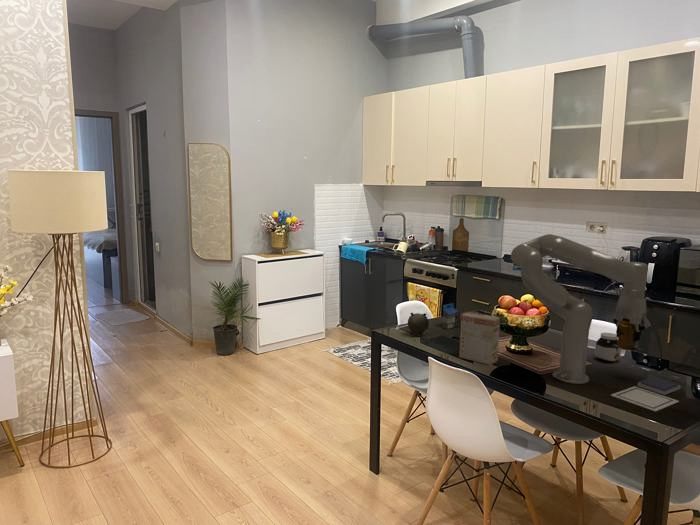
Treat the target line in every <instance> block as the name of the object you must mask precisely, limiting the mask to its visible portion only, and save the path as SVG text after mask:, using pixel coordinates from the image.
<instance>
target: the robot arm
mask: <svg viewBox="0 0 700 525" xmlns="http://www.w3.org/2000/svg"><path fill="white" fill-rule="evenodd" d="M545 257H551V258H553V259H555V260H557V261H560V262H563V263H565V264H569V265H571V266H572V267H576V268H579V269H581V270H584V271H587V272H591V273H595V274H598V275H602V276H604V277H606V278H608V279H610V280H613V281H617V282H618V283H622V284H623V287H622V288H620V289H619V292H620V293H621V295H619V297H618V301H617V304H616V307H615V311H614V312H613V313H612V314H611V315H610V318H611V320H613V322H614V324H615V327H616V333H615V334H616V336H617V337H618V335H619V327H620V323H621V321H622V319H623V318H626V319H629V320H630V322H629V323H631V324H634V325H635V328H636V331H635V332H634V338H633V341H634V342H635V343H636V342H639V341H640V340H641V338H642V337H641V335H642V334H641V333H642V332H643V331H644V330H646V329H648V328H649V327H650V326H651V325H652V324H651V322H650V320H649V319H648V318H647V302H646V298H645V295H646V287H647V279H648V271H649V266H648V264H647V263H646V262H639V261H628V262H627V261H624V260H621V259H620V258H619V259H618V258H615V257H614V256H610V255H608V254H606V253H604V252H601V251H598V250H597V249H593V248H591V247H588V246H586V245H584V244H581V243H578V242H577V241H573V240H572V239H568V238H566V237H563V236H560V235H556V234H552V233H551V234H550V233H548V234H544V235H541V236H538V237H535V238H533V239H531V240H528V241H526V242H523V243H521V244H518V245H517V246H514V248H513V249H512V251H511V253H510V259H511V261H512V262H513V264H514V265H515V266H517V267H519V268H520V276H521V280H522V283H523V285H524V286H525V288H526V289H527V290H529V291H530V292H532V293H533V295H534V296H535V298H536V299H537V301H539V302H540V303H541V304H542V305H544V306H545V307H546V308H548V309H549V310H550V311H552V312H553V313H554V314H556V315H557V316H559V317H561V318H562V319H563V320H565V323H564V325H563V328H562V332H561V341H560V342H561V344H560V353H559V354H560V356H559V367H558V368H557V370H556V371H554V372H552V377H554V378H556V379H557V381H558V380H559V381H561V382H564V383H567V384H568V383H569V384H575V385H582V384H583V385H584V384H588V383H589V381H590V376H588V375H586V367H587V359H588V358H587V356H588V347H589V335H590V329H591V324H592V321H593V318H594V311H593V308H592V306H590V304H589V303H587V302H586V301H584V300H581V299H580V298H578V297H576V296H573V295H572V294H570V293H569V292H568V290H567V289H566V288H565V287H564V286H563V285H562V284H559V283H558V282H557V281H556V280H554V279H553V278H551V277H550V276H549V275H548V274H546V273H545V271H544V270H543V262H544V260H543V259H544V258H545Z"/></svg>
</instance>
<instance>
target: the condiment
mask: <svg viewBox="0 0 700 525" xmlns="http://www.w3.org/2000/svg"><path fill="white" fill-rule="evenodd" d="M629 322H630V320H629V319H626V318H623V319H622V321H621V323H620V327H619V335H618V339H617V340H618V343H617V344H618V345H614V346H616V347H618V348H620V349H621V350H622V351H643V348H641V347H637V346H636V345H635V344H636V342H634V341H633V338H634V332H635V331H636V328H635V325H634V324H631V323H629Z"/></svg>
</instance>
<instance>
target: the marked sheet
mask: <svg viewBox="0 0 700 525" xmlns="http://www.w3.org/2000/svg"><path fill="white" fill-rule="evenodd" d="M610 396H611V397H614V398H616V399H619V400H622V401H625V402H627V403H630V404H633V405H635V406H639V407H642V408H644V409H647V410H650V411H653V412H658V411H661V410H663V409H666V408H667V407H668V408H669V407H670V406H672V405H674V404H676V403H680V401H679V400H678V399H674V398H671V397H669V396H666V395H663V394H660V393H657V392H654V391H651V390H648V389H645V388H642V387H639V386H632V387H628V388H626V389H623V390H620V391H618V392H614V393H611V394H610Z"/></svg>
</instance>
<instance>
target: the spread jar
mask: <svg viewBox="0 0 700 525" xmlns="http://www.w3.org/2000/svg"><path fill="white" fill-rule="evenodd" d="M616 335H617V334H616V333H611V332H601V333H600V337H599V338H598V339H597V341H596V343H595V345H594V346H595V348H594V356H595V358H596V359H597V360H598V361H599V362H602V363H606V364H614V363H617V362H618V361H619V360H620V357H621V353H622V349H620V348H618V347H616V346H614V345H618V344H617V343H618V337H617V336H616Z"/></svg>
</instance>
